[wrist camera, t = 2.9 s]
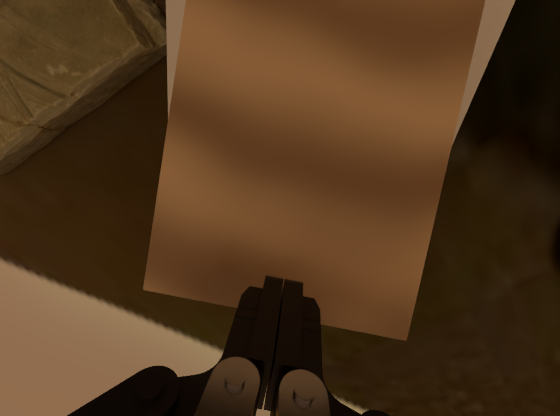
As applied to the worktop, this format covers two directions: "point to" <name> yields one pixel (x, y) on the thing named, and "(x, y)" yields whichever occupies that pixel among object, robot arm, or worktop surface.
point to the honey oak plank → (310, 151)
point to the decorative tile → (68, 64)
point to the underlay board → (488, 34)
